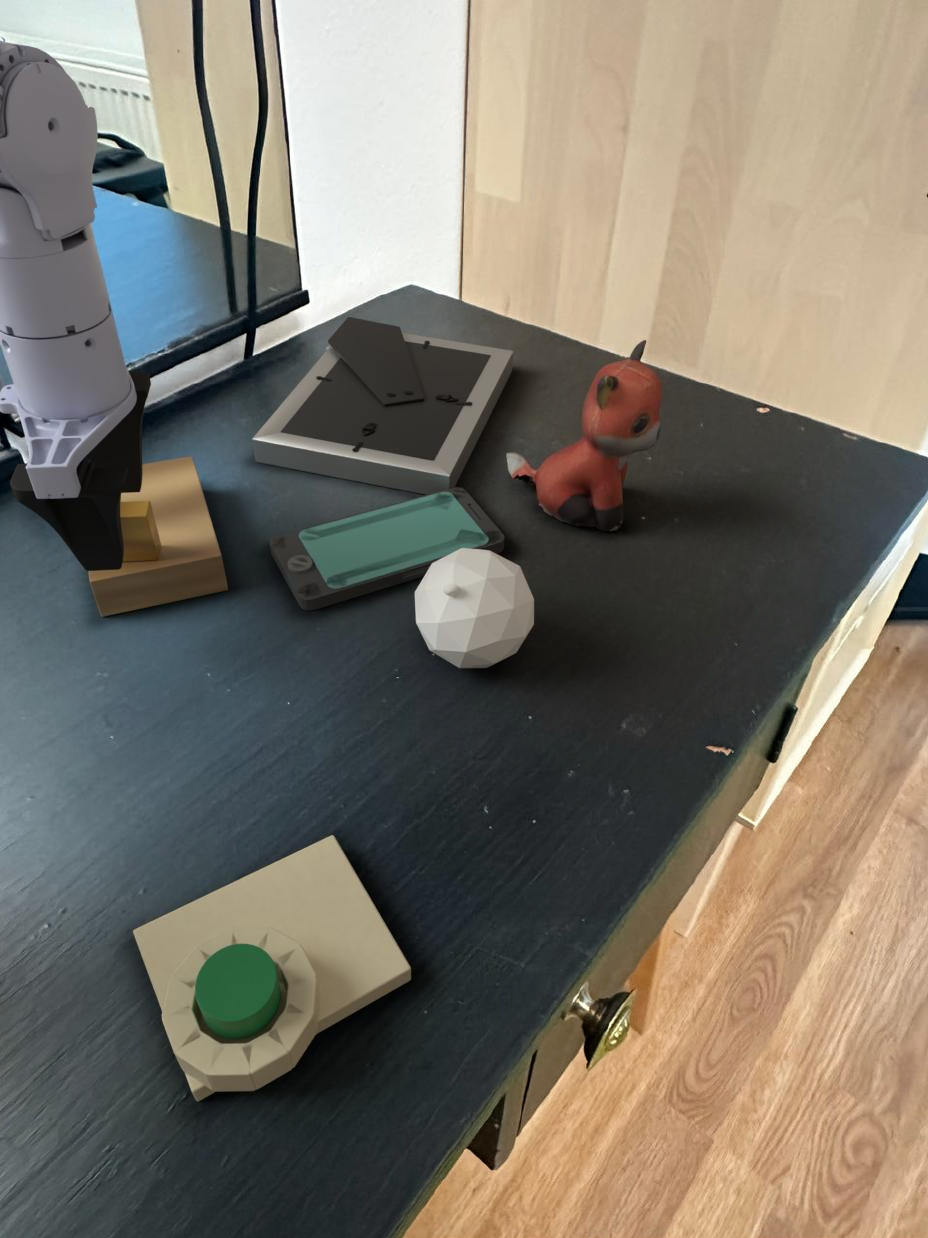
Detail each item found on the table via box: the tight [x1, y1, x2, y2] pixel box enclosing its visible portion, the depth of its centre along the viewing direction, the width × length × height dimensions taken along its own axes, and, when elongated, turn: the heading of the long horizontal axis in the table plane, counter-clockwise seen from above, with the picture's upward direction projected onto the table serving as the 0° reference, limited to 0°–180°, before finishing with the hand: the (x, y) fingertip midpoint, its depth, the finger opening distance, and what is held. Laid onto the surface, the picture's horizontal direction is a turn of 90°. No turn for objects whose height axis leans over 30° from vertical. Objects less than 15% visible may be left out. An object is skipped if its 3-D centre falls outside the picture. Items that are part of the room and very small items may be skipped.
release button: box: [195, 944, 281, 1040], centre depth 36 cm, size 3×3×2 cm
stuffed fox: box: [506, 339, 663, 532], centre depth 64 cm, size 8×11×12 cm
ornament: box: [414, 548, 535, 669], centre depth 53 cm, size 7×7×8 cm
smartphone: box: [269, 486, 505, 612], centre depth 62 cm, size 7×1×15 cm
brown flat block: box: [87, 455, 229, 618], centre depth 61 cm, size 12×8×3 cm, turn 21°
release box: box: [132, 834, 412, 1102], centre depth 39 cm, size 10×9×3 cm
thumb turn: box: [120, 501, 161, 562], centre depth 55 cm, size 4×2×4 cm, turn 97°
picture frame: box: [251, 316, 514, 496], centre depth 75 cm, size 16×3×21 cm
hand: (115, 526), depth 55 cm, fingers open, 7 cm apart
